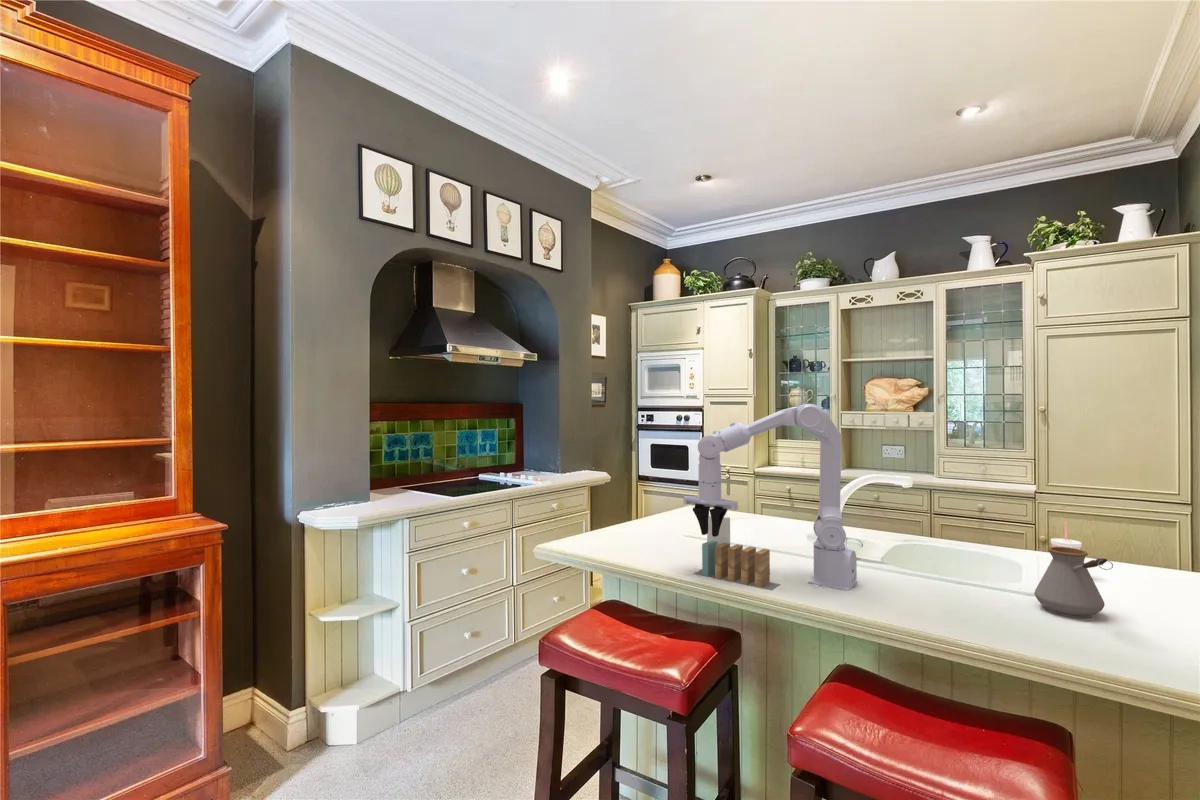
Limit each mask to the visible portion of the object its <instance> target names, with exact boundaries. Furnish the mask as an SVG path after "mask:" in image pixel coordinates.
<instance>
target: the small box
mask: <svg viewBox="0 0 1200 800" xmlns="http://www.w3.org/2000/svg"><path fill="white" fill-rule="evenodd" d="M706 535H707V537H706V542H708V541H711V540H714V541H718V544H721V543H723V542H727V543H730V544H731V517H730V516H729V515H727V513H726V514H725V516H724V518H723V520H722V523H721V526H720V530H719V535H718V536H716V537H713V536H712V520H711V514H710V512H709V517H708V534H706Z"/></svg>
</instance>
